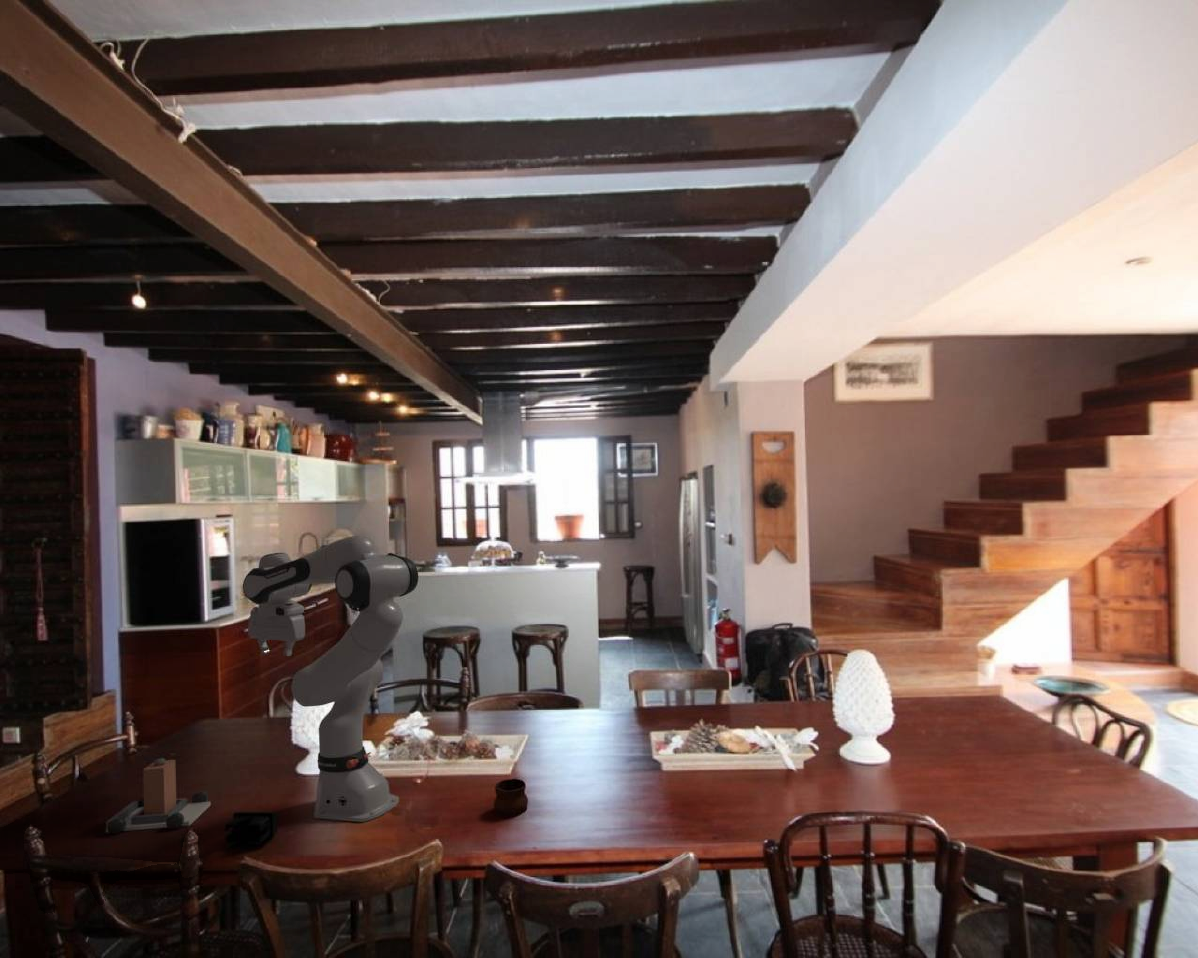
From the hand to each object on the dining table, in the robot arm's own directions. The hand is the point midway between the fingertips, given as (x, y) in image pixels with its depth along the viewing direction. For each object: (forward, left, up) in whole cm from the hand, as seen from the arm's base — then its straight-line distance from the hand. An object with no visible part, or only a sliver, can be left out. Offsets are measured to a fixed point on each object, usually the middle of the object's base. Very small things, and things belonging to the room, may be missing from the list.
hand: (276, 654), depth 206 cm
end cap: (-25, +29, -37) cm, 53 cm away
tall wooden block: (+10, +29, -36) cm, 47 cm away
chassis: (+10, +29, -37) cm, 48 cm away
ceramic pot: (-75, -8, -38) cm, 85 cm away
